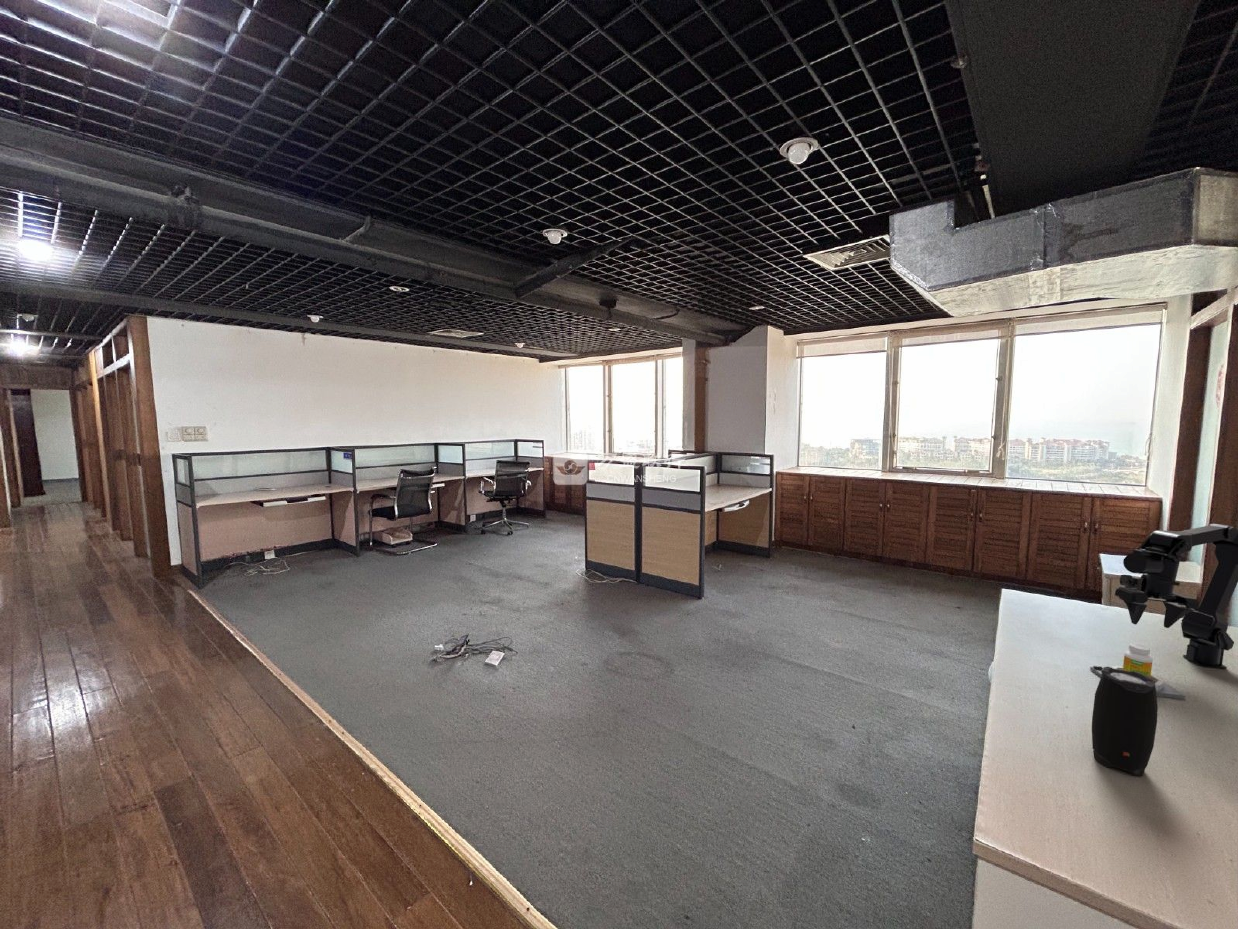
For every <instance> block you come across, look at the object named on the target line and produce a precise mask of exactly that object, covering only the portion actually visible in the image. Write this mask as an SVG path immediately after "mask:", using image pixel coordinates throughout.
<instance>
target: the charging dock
mask: <svg viewBox="0 0 1238 929" xmlns="http://www.w3.org/2000/svg"><path fill="white" fill-rule="evenodd" d="M1089 668H1090V669H1089V671H1091V672H1092V671H1093V672H1092V673H1094V674H1095V675H1097V676H1098V677H1099V678H1101V676H1102V673H1101V672H1102V670H1103V666H1097V665H1093V666H1090V667H1089ZM1111 668H1114V669H1119V670H1123V665H1122V666H1121V665H1119V666H1118V665H1112V666H1111ZM1150 678H1151V679H1153V681H1154V683H1155V687H1156V695H1157V697H1162V698H1163V697H1164V698H1168V699H1177V698H1179V699H1178V700H1186V695H1185V694H1184V693H1182V692H1181V691H1178V690H1177V689H1176V688H1173V687H1172V686H1171V685H1169V684H1167V683H1166V682H1165V681H1164V680H1162V679H1161V678H1159V677H1158V676H1156V675H1155V674H1152V673H1151V677H1150Z"/></svg>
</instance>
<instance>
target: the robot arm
mask: <svg viewBox="0 0 1238 929" xmlns="http://www.w3.org/2000/svg"><path fill="white" fill-rule="evenodd" d="M1206 544H1212V546H1214V547H1215V548H1214V551H1213V554H1214V555H1215V556H1214V557H1215V559H1216V561H1217V565H1216V567H1215V568H1214V572H1213V574H1212V576H1211V579H1210V580H1209V583H1208V586H1207V588H1206V590H1205V592H1204V594H1203V598H1202V599H1201V602H1199V601H1198V599H1197V598H1195V597H1191V596H1188V595H1187V594H1186V595H1185V594H1183V593H1178V592H1177V593H1176V592H1174V588H1175V586H1180V583H1181V582H1180V581H1177V575H1178V571H1179V568H1180V563H1186V562H1187V561H1186V559H1185V558H1184V557H1183V556H1182V555H1183V554H1186V553H1188V552H1191V551H1192V548H1193V547H1196V546H1197V547H1198V546H1201V545H1206ZM1122 561H1123V562H1122V563H1123V567H1124V568H1125V570H1126V571H1128V572H1129V573H1132V574H1141V576H1140V578H1135V577H1133V575H1131V574H1130V575H1129V574H1121V575H1120V577H1119V585H1121V586H1119V587H1117V588H1115V591H1114V596H1116V597H1118V599H1119V600H1121V601H1123V602H1124V603H1125V605H1126V608H1127V610H1128V614H1129V618H1130V621H1131V624H1133V625H1138V623H1139V622H1140V620H1141V619H1142V616H1143V614H1144V612H1145V610H1146V609H1147V607H1148V604H1145V603H1147V602H1148V601H1155V602H1162V604H1163V605H1164V607H1165V613H1164V618H1163V628H1165V629H1170V628H1171V627H1172V626H1173V625H1174V624H1176V623H1177V622H1178V621H1179V620H1180V619H1181V621H1180V622H1181V623H1180V628H1181V632H1182V637H1183V638H1185V639H1189V641H1188V644H1187V645H1186V653H1185V654H1182V657H1183V658H1185V659H1187V660H1189V661H1191V662H1192V663H1194V664H1196V665H1198V666H1201V667H1209V668H1216V667H1221V668H1220V669H1225V668H1227V669H1228V666H1226V665H1224V664H1223V663H1224V662H1223V661H1224V652H1225V651H1230V650H1232V649H1233V647H1234V644H1235V641H1234V640H1233V639H1232V637H1231V636H1230V635H1229V633H1228V632H1227V631H1228V628H1229V625H1228V623H1227V620H1226V618H1225V612H1226V611H1227V608H1228V605H1229V603H1230V601H1231V599H1232V596H1233V595H1234V592H1235V590H1236V587H1237V585H1238V528H1237V527H1233V526H1232V525H1226V524H1219V523H1210V524H1208V525H1205V526H1199V527H1195V528H1190V529H1185V530H1181V531H1180V530H1178V531H1175V530H1154V531H1152V532H1151V534H1150V535H1148V536H1147V538H1146V539H1145V540H1144V541H1143V542H1142V544H1141V545H1140V546H1139V547H1138V548H1137V549H1133V553H1130V554H1127V555H1126V556H1125V557H1124V558H1123V560H1122ZM1122 586H1123V587H1122Z"/></svg>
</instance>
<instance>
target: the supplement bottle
mask: <svg viewBox="0 0 1238 929" xmlns="http://www.w3.org/2000/svg"><path fill="white" fill-rule="evenodd" d="M1128 649H1129V650H1126V651H1124V654H1123V655H1124V656H1123V663H1122V667H1123V670H1125V671H1136V672H1139V673H1142V674H1145V675H1146V676H1148V677H1151V674H1152V669H1153V668H1152V667H1153V660H1154V659H1153V658H1152V657H1151V656H1150V653H1151V648H1149V647H1148V646H1147V645H1143V644H1139V643H1134V642H1132V643H1131V642H1130V643H1129V645H1128Z"/></svg>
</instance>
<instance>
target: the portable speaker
mask: <svg viewBox="0 0 1238 929" xmlns="http://www.w3.org/2000/svg"><path fill="white" fill-rule="evenodd" d="M1111 667H1112V666H1111ZM1111 667H1110V666H1102V668H1103V670H1102V672H1101V673H1102V676H1101V677H1100V679H1099V682H1098V684H1097V687H1096V690H1095V693H1094V700H1093V707H1092V716H1091V741H1092V743H1091V744H1092V750H1093V752H1092V753H1093V758H1094V759H1095V760H1096V761H1097V763H1099V764H1101V765H1102V766H1105V767H1106V769H1107V768H1108V769H1110V768H1112V767H1113V768H1117V769H1119V770H1123V771H1126V772H1129V773H1130V775H1132V776H1133V777H1143V775H1144V774H1145V771H1146V768H1147V767H1148V764H1149V761H1150V758H1151V756H1152V753H1153V750H1154V745H1155V741H1156V740H1155V739H1156V734H1157V733H1156V732H1157V724H1158V710H1159V708H1158V699H1157V698H1158V696H1157V695H1156V687H1155V683H1154V681H1153V679H1151V678H1150V677H1148V676H1146V675H1145V674H1142V673H1139V672H1136V671H1125V670H1119V669H1114V668H1111Z"/></svg>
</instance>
